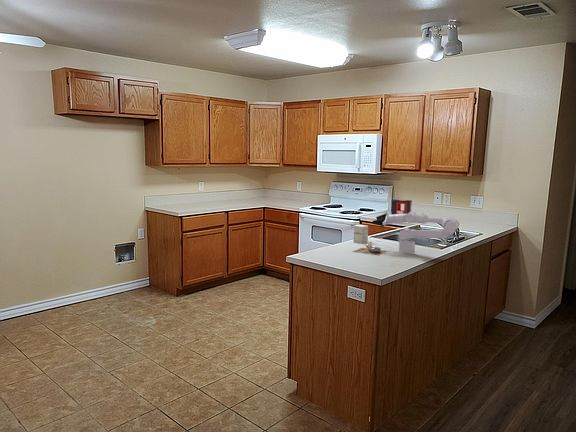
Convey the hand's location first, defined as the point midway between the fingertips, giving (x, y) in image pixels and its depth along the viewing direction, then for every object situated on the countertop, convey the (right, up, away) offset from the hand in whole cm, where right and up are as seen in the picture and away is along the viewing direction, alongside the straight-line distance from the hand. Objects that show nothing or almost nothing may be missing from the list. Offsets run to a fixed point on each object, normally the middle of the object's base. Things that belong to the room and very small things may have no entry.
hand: (374, 220), depth 282 cm
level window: (-10, -19, -4) cm, 22 cm away
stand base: (-5, -21, -8) cm, 22 cm away
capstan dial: (-3, -19, -6) cm, 20 cm away
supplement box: (-5, -16, +24) cm, 29 cm away
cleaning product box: (+49, -3, +126) cm, 135 cm away
